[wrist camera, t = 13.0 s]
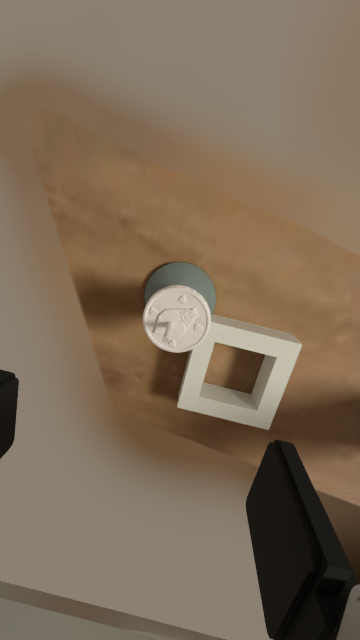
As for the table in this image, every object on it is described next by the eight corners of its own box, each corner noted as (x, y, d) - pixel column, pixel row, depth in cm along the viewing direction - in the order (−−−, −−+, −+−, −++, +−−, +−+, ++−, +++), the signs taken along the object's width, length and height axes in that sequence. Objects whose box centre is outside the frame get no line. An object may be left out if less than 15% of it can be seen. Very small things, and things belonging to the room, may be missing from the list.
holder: (291, 333, 35) (302, 344, 31) (261, 411, 39) (268, 430, 35) (200, 310, 35) (201, 319, 31) (179, 390, 39) (177, 407, 35)
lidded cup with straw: (147, 289, 34) (114, 320, 21) (192, 264, 33) (188, 279, 20) (172, 332, 36) (156, 387, 22) (217, 310, 34) (228, 353, 21)
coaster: (223, 271, 34) (224, 272, 33) (205, 338, 36) (205, 340, 36) (153, 254, 34) (152, 254, 33) (139, 322, 36) (138, 323, 36)
